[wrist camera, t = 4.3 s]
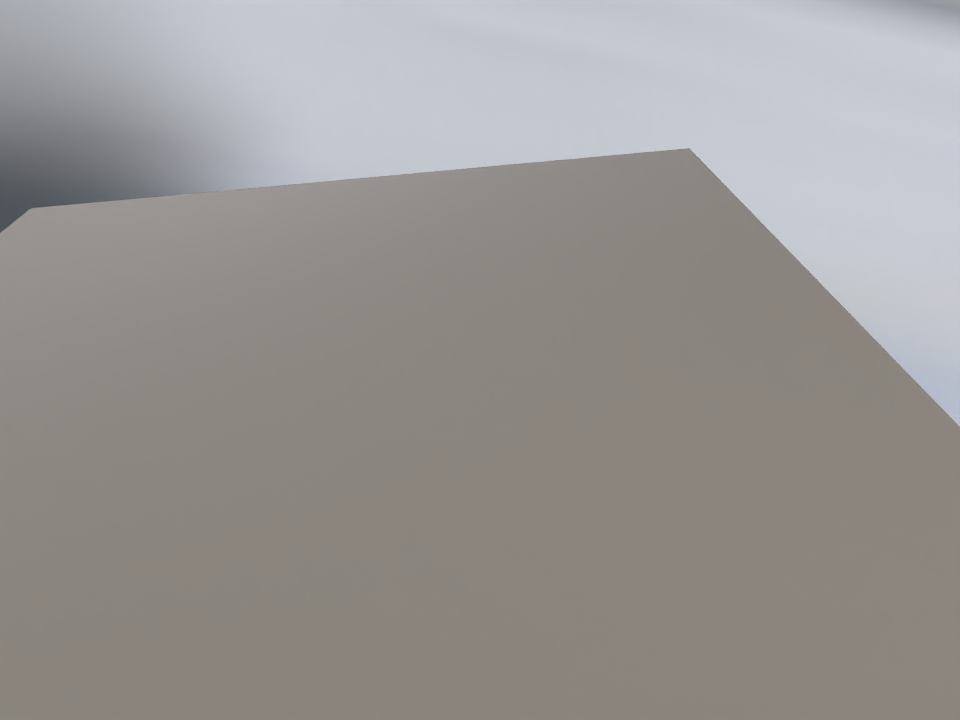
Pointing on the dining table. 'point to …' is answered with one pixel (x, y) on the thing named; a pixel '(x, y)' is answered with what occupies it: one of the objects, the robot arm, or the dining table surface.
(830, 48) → the dining table surface
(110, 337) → the plain white closed box
